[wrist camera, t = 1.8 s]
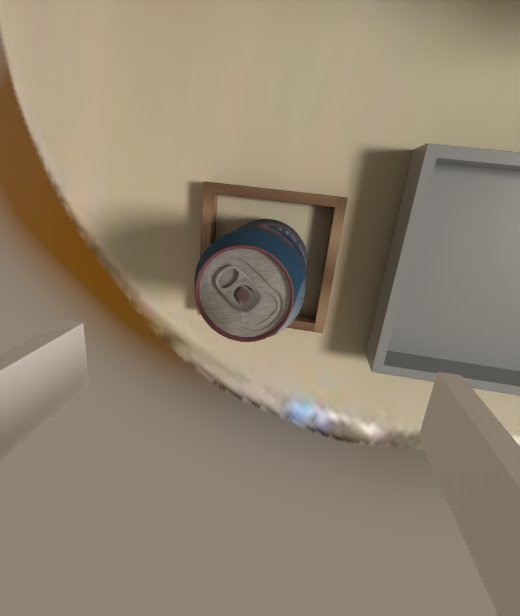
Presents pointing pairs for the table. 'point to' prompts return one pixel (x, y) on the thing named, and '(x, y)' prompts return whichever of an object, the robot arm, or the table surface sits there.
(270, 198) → the walnut frame
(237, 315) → the soda can
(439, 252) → the grey bin
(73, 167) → the table surface
